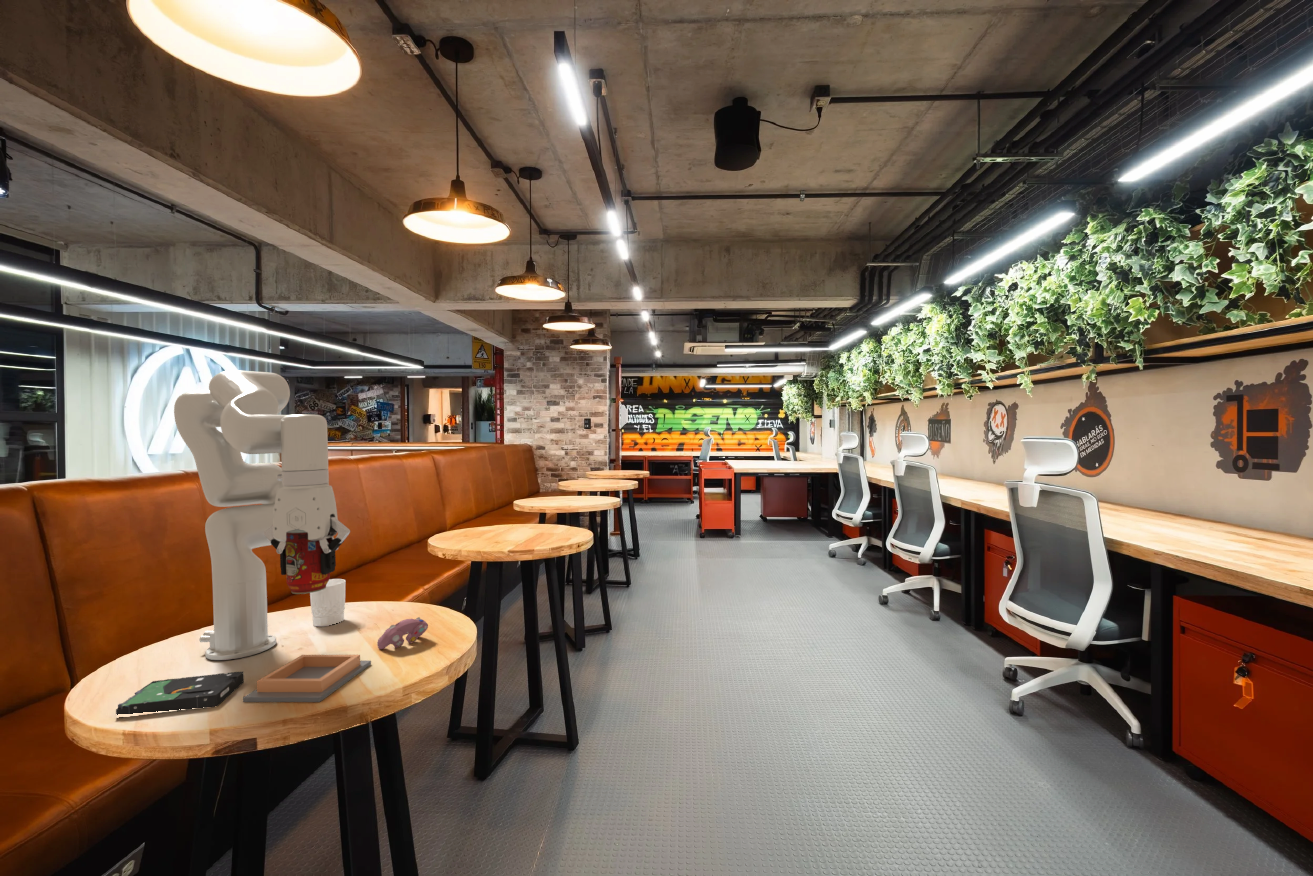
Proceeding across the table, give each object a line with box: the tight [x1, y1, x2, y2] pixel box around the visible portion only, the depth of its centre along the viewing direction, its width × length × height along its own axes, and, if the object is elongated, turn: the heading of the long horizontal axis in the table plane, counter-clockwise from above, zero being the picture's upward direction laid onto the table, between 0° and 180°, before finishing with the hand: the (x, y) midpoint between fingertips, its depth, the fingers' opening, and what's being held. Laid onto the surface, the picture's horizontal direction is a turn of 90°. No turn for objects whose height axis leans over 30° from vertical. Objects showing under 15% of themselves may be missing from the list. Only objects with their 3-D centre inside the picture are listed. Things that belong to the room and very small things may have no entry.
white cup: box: [309, 578, 346, 628], centre depth 142 cm, size 8×8×10 cm
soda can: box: [285, 529, 331, 595], centre depth 107 cm, size 7×7×12 cm
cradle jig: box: [242, 654, 372, 703], centre depth 107 cm, size 14×16×3 cm
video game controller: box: [376, 616, 429, 650], centre depth 125 cm, size 10×5×7 cm, turn 144°
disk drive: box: [115, 671, 245, 715], centre depth 101 cm, size 10×3×15 cm
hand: (308, 572), depth 107 cm, fingers closed on soda can, 7 cm apart
